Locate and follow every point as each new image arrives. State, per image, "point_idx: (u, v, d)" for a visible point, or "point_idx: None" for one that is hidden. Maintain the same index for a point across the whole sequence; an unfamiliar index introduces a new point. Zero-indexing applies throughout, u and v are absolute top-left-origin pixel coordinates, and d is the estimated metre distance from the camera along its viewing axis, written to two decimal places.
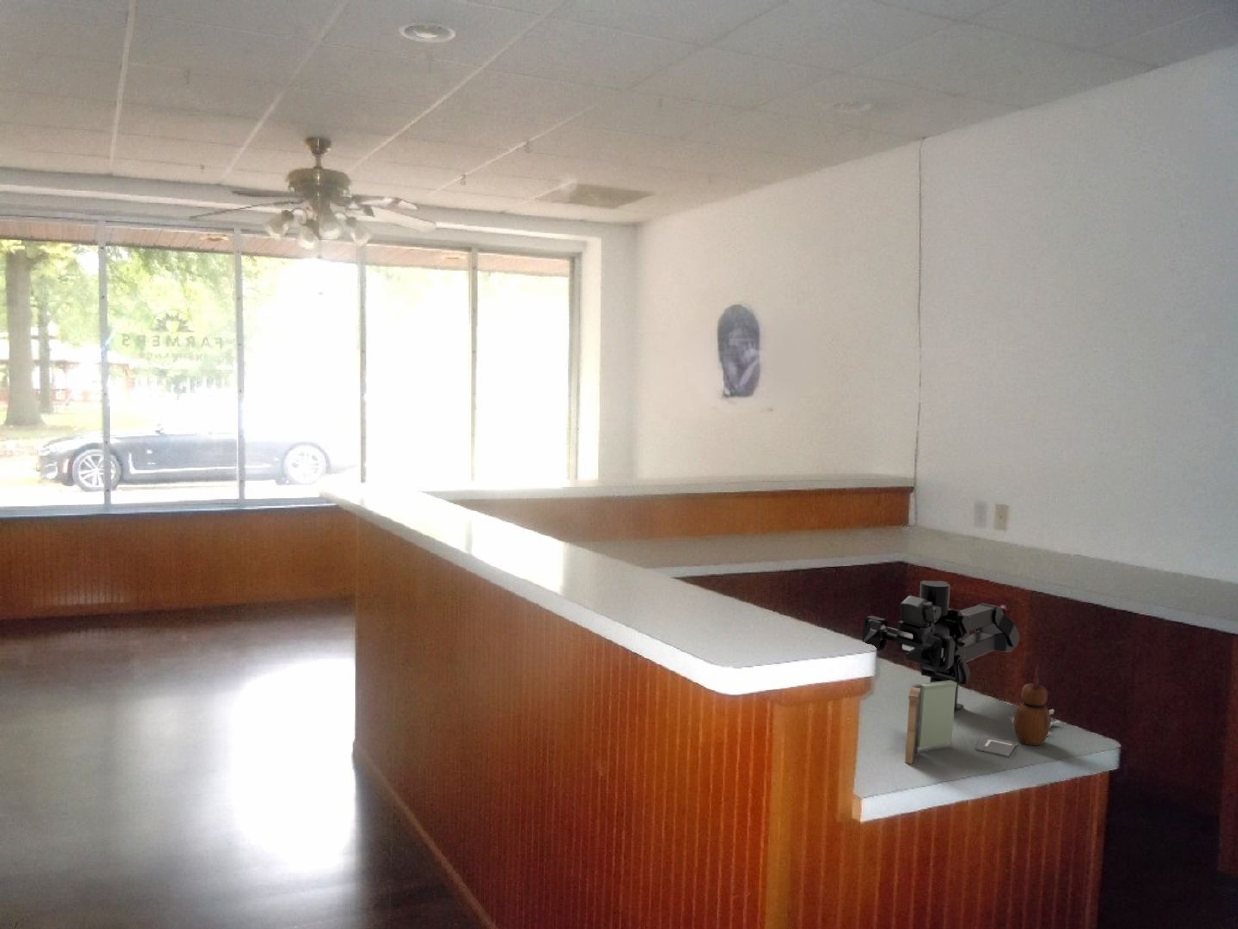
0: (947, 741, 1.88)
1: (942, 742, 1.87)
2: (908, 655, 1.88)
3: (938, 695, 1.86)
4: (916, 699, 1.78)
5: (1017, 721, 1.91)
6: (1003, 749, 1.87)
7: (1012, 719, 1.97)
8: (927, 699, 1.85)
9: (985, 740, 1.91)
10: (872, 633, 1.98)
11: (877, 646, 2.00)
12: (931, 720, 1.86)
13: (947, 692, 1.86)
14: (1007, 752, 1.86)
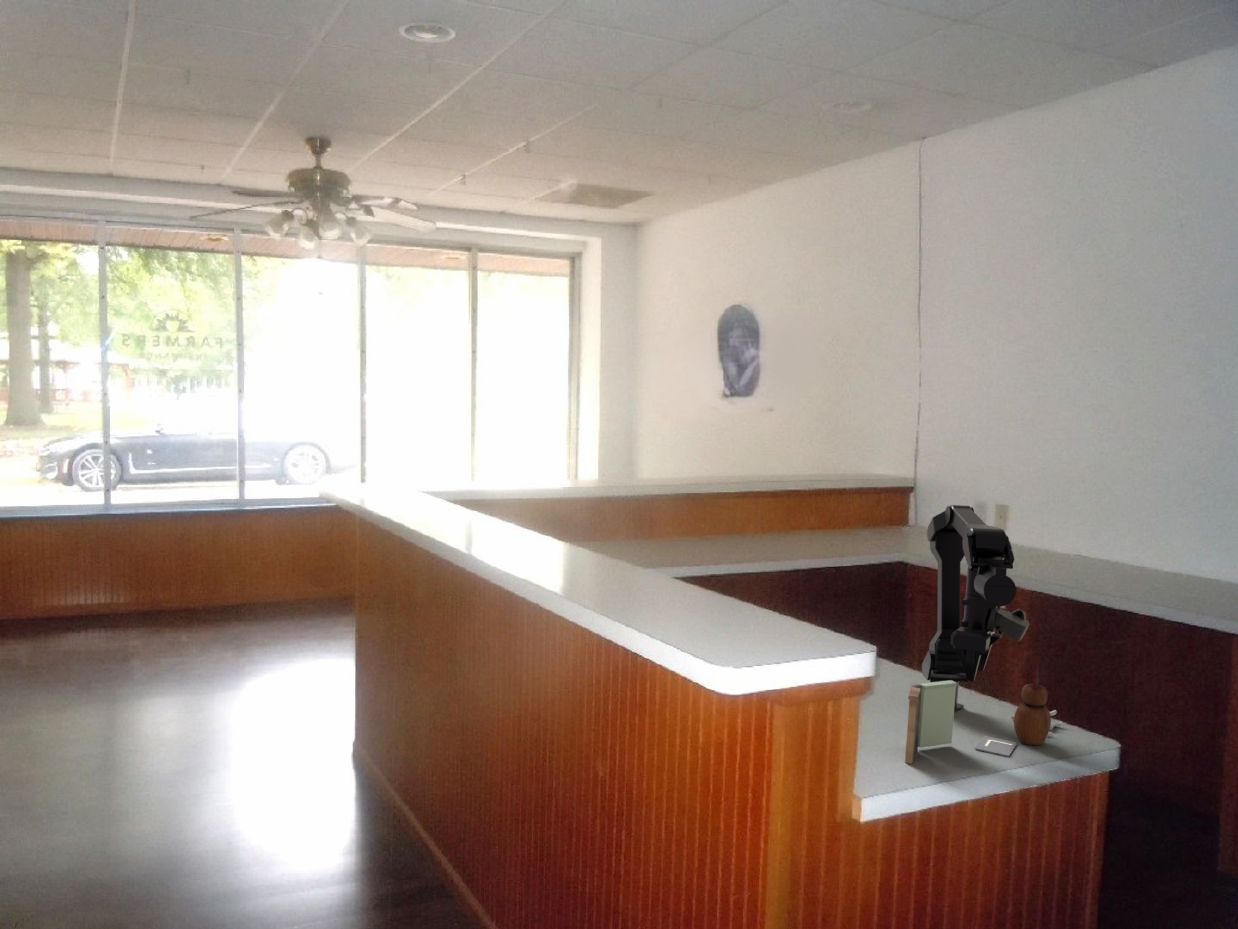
0: (947, 741, 1.88)
1: (942, 742, 1.87)
2: None
3: (938, 695, 1.86)
4: (916, 699, 1.78)
5: (1017, 721, 1.91)
6: (1003, 749, 1.87)
7: None
8: (927, 699, 1.85)
9: (985, 740, 1.91)
10: (978, 662, 1.84)
11: None
12: (931, 720, 1.86)
13: (947, 692, 1.86)
14: (1007, 752, 1.86)
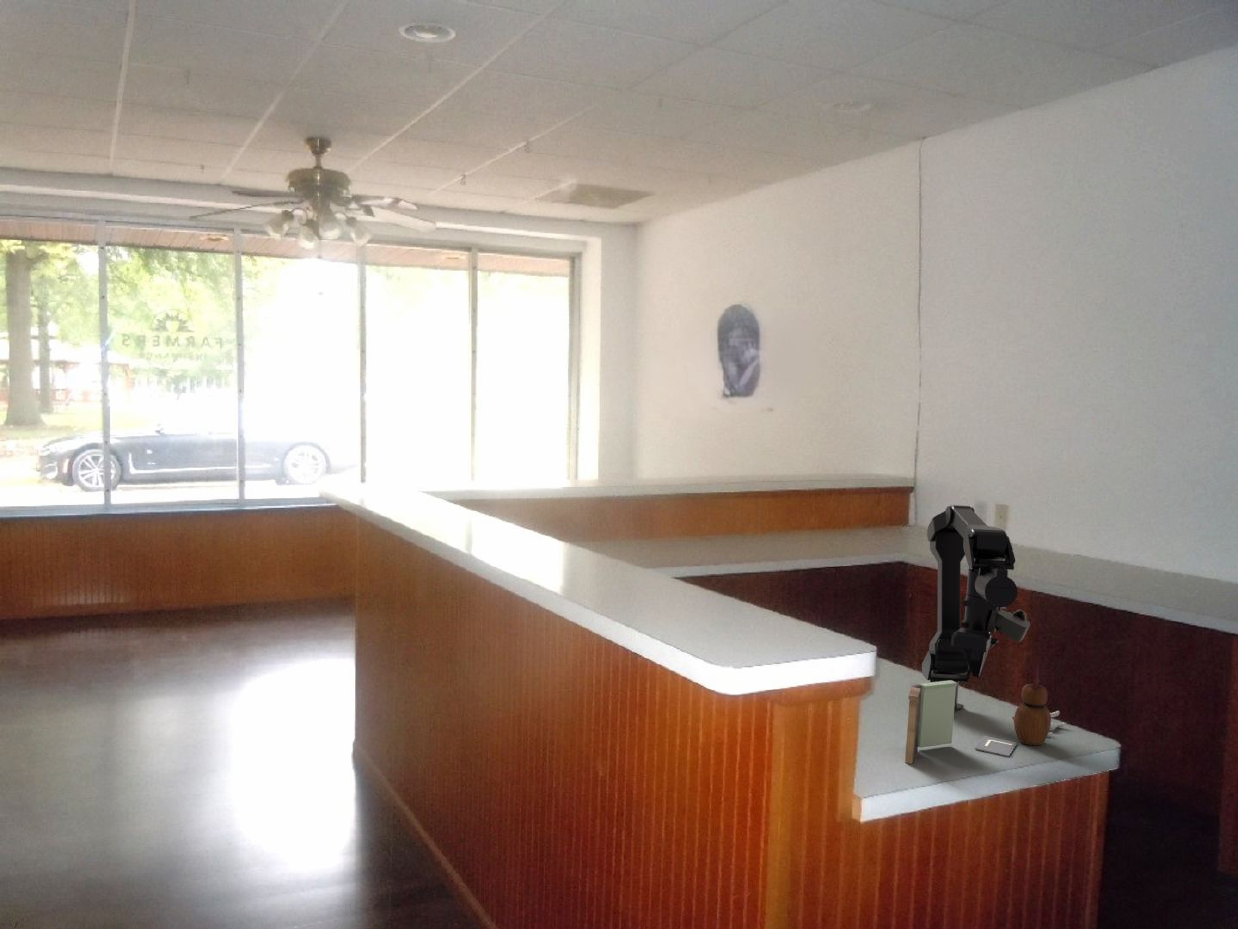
0: (947, 741, 1.88)
1: (942, 742, 1.87)
2: None
3: (938, 695, 1.86)
4: (916, 699, 1.78)
5: (1017, 721, 1.91)
6: (1003, 749, 1.87)
7: None
8: (927, 699, 1.85)
9: (985, 740, 1.91)
10: (983, 658, 1.88)
11: None
12: (931, 720, 1.86)
13: (947, 692, 1.86)
14: (1007, 752, 1.86)
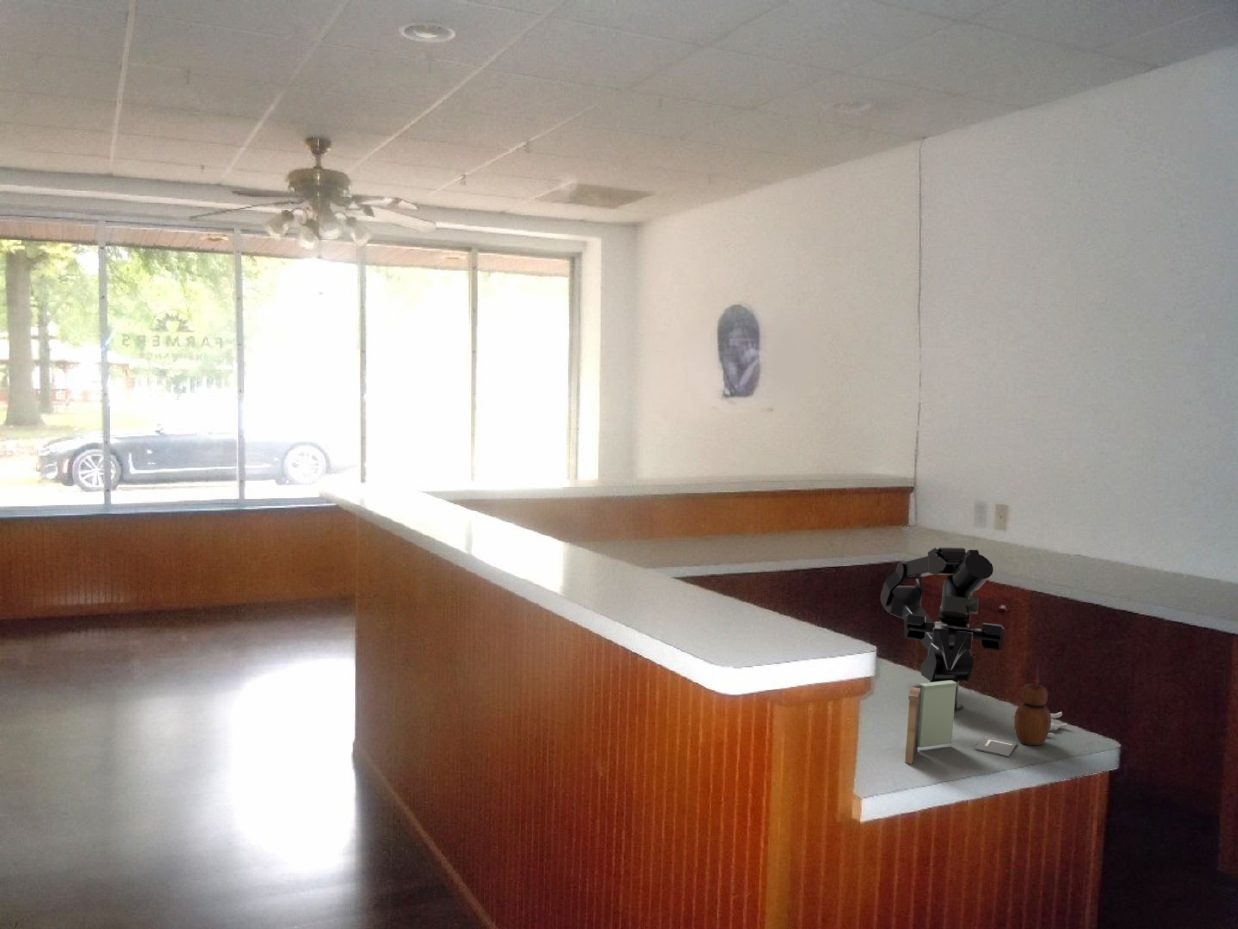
0: (947, 741, 1.88)
1: (942, 742, 1.87)
2: (951, 667, 1.95)
3: (938, 695, 1.86)
4: (916, 699, 1.78)
5: (1017, 721, 1.91)
6: (1003, 749, 1.87)
7: None
8: (927, 699, 1.85)
9: (985, 740, 1.91)
10: (947, 647, 1.97)
11: None
12: (931, 720, 1.86)
13: (947, 692, 1.86)
14: (1007, 752, 1.86)
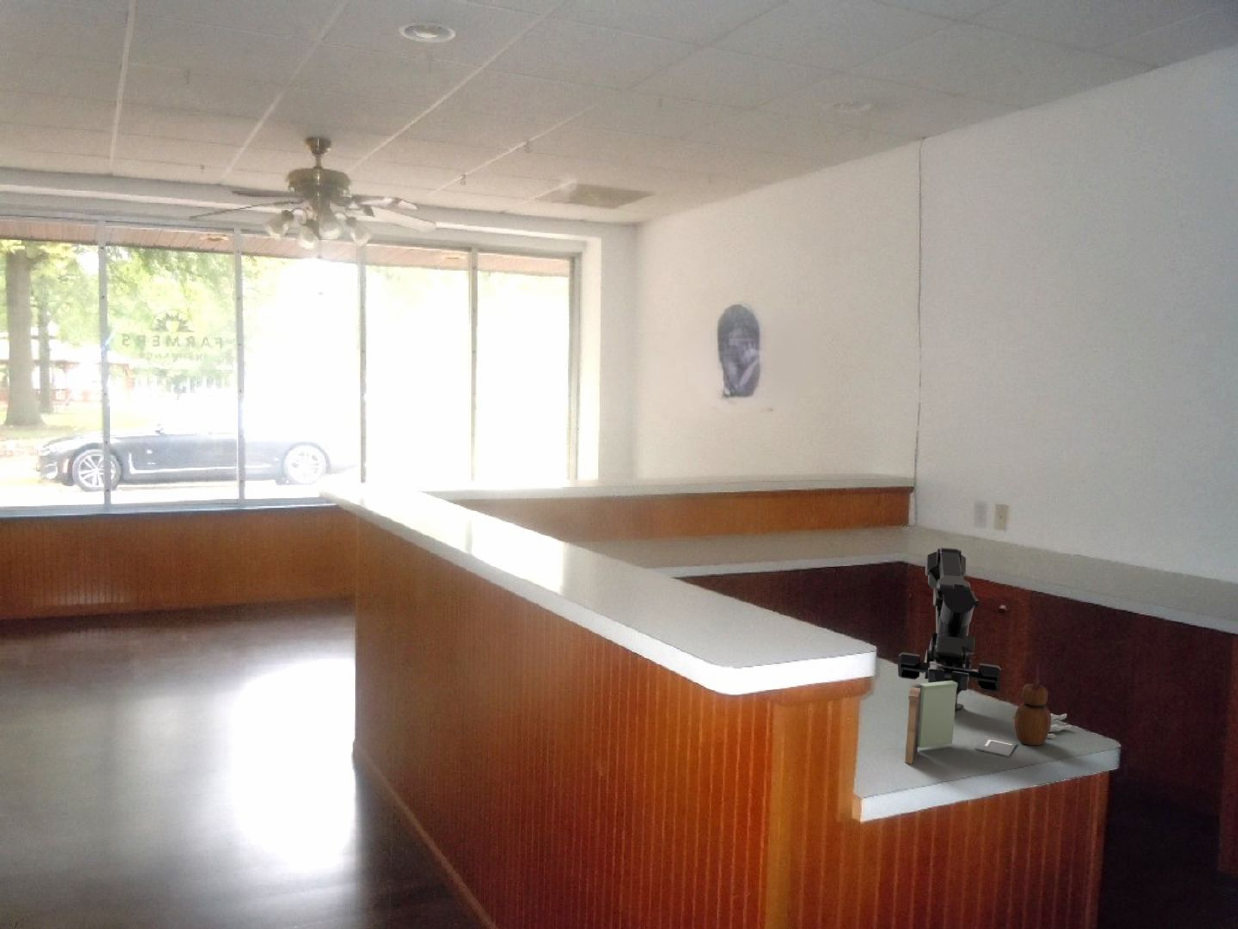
0: (948, 741, 1.88)
1: (943, 742, 1.87)
2: None
3: (938, 695, 1.86)
4: (916, 699, 1.78)
5: (1017, 721, 1.91)
6: (1003, 749, 1.87)
7: None
8: (927, 699, 1.85)
9: (985, 740, 1.91)
10: None
11: None
12: (932, 721, 1.86)
13: (947, 693, 1.86)
14: (1007, 752, 1.86)
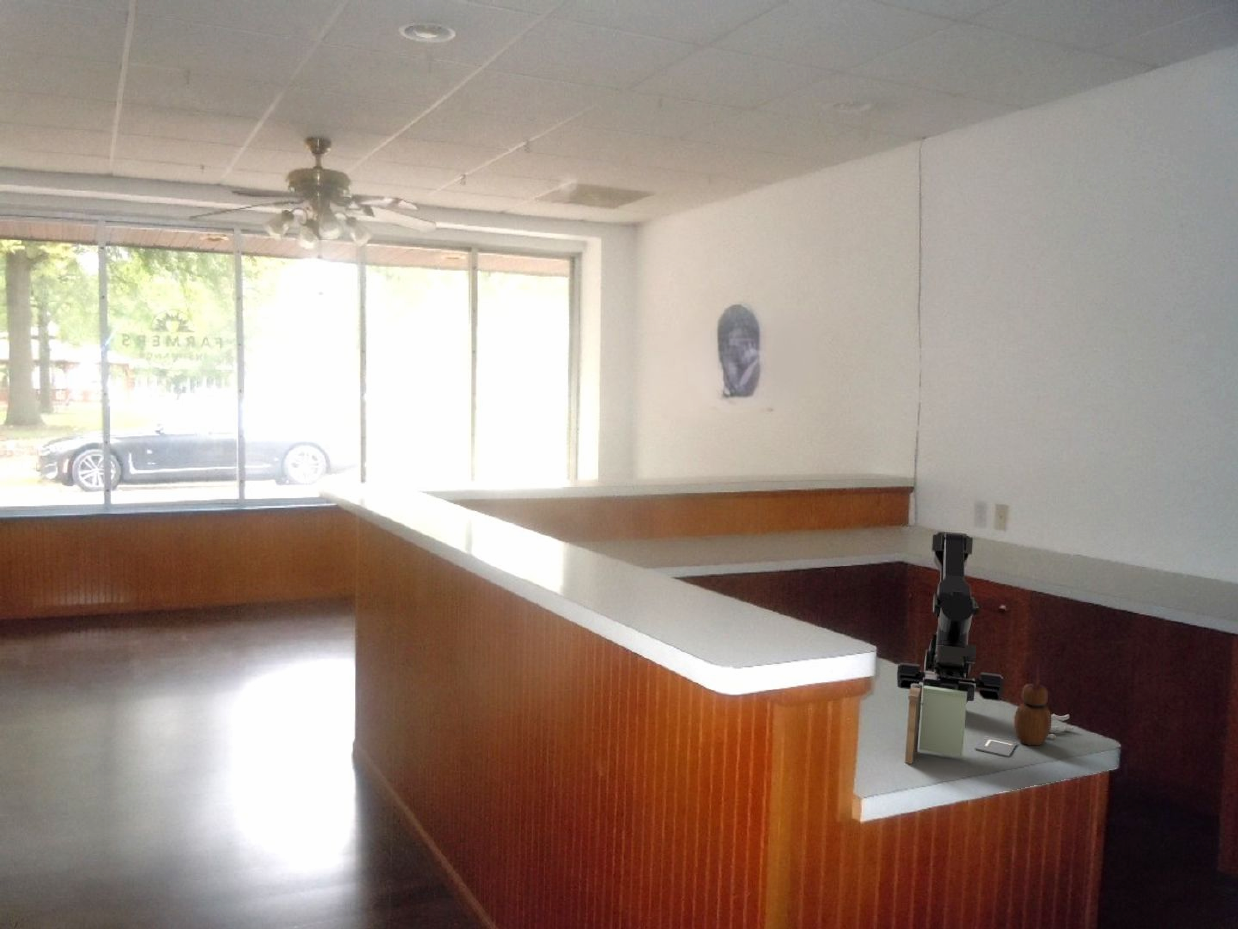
0: (956, 753, 1.82)
1: (949, 752, 1.82)
2: None
3: (942, 702, 1.82)
4: (916, 699, 1.78)
5: (1017, 721, 1.91)
6: (1003, 749, 1.87)
7: None
8: (928, 702, 1.83)
9: (985, 740, 1.91)
10: None
11: None
12: (934, 726, 1.83)
13: (954, 701, 1.81)
14: (1007, 752, 1.86)
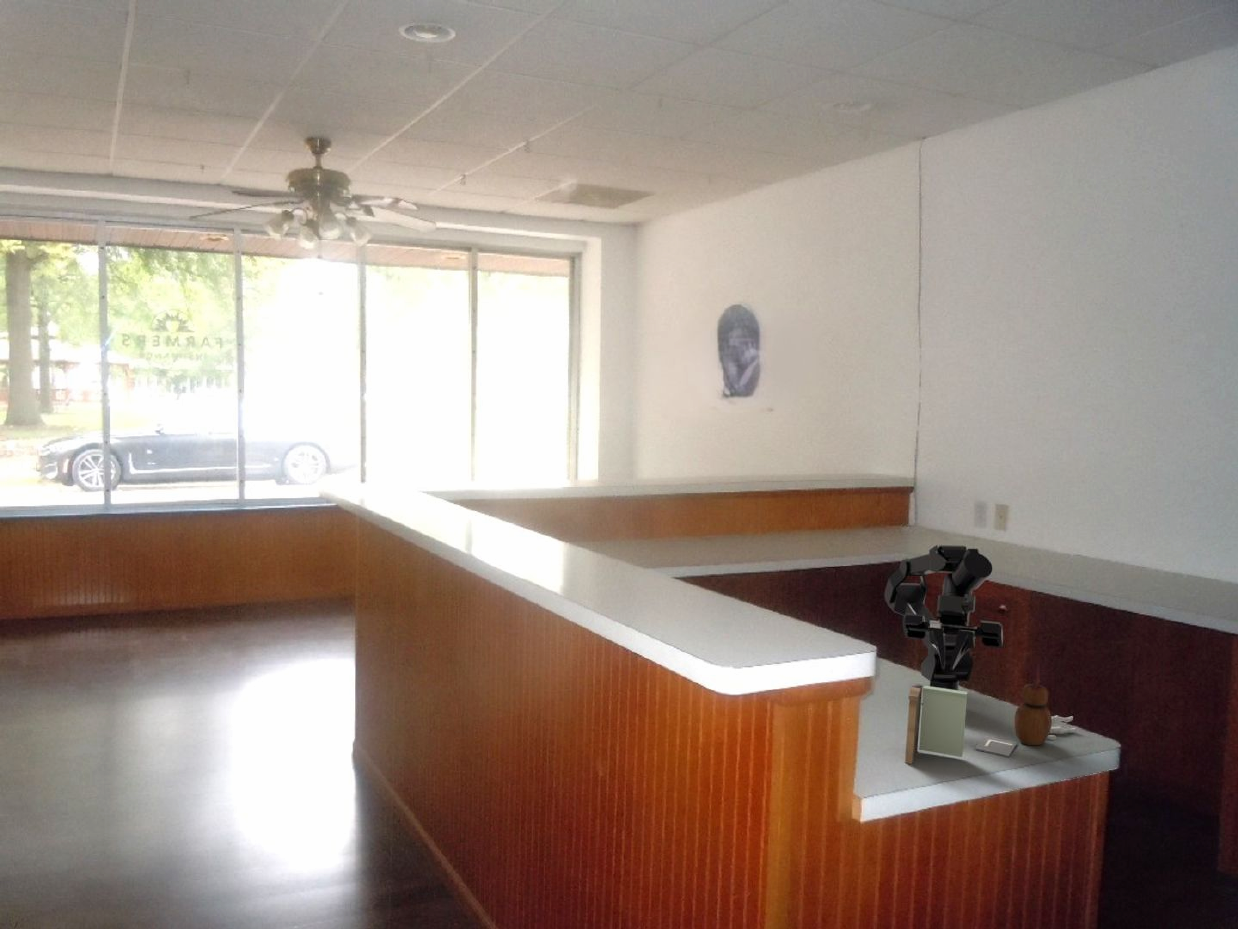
0: (956, 753, 1.82)
1: (949, 752, 1.82)
2: (953, 667, 1.95)
3: (942, 702, 1.82)
4: (916, 699, 1.78)
5: (1017, 721, 1.91)
6: (1003, 749, 1.87)
7: None
8: (928, 702, 1.83)
9: (985, 740, 1.91)
10: (941, 646, 1.97)
11: None
12: (934, 726, 1.83)
13: (954, 702, 1.81)
14: (1007, 752, 1.86)
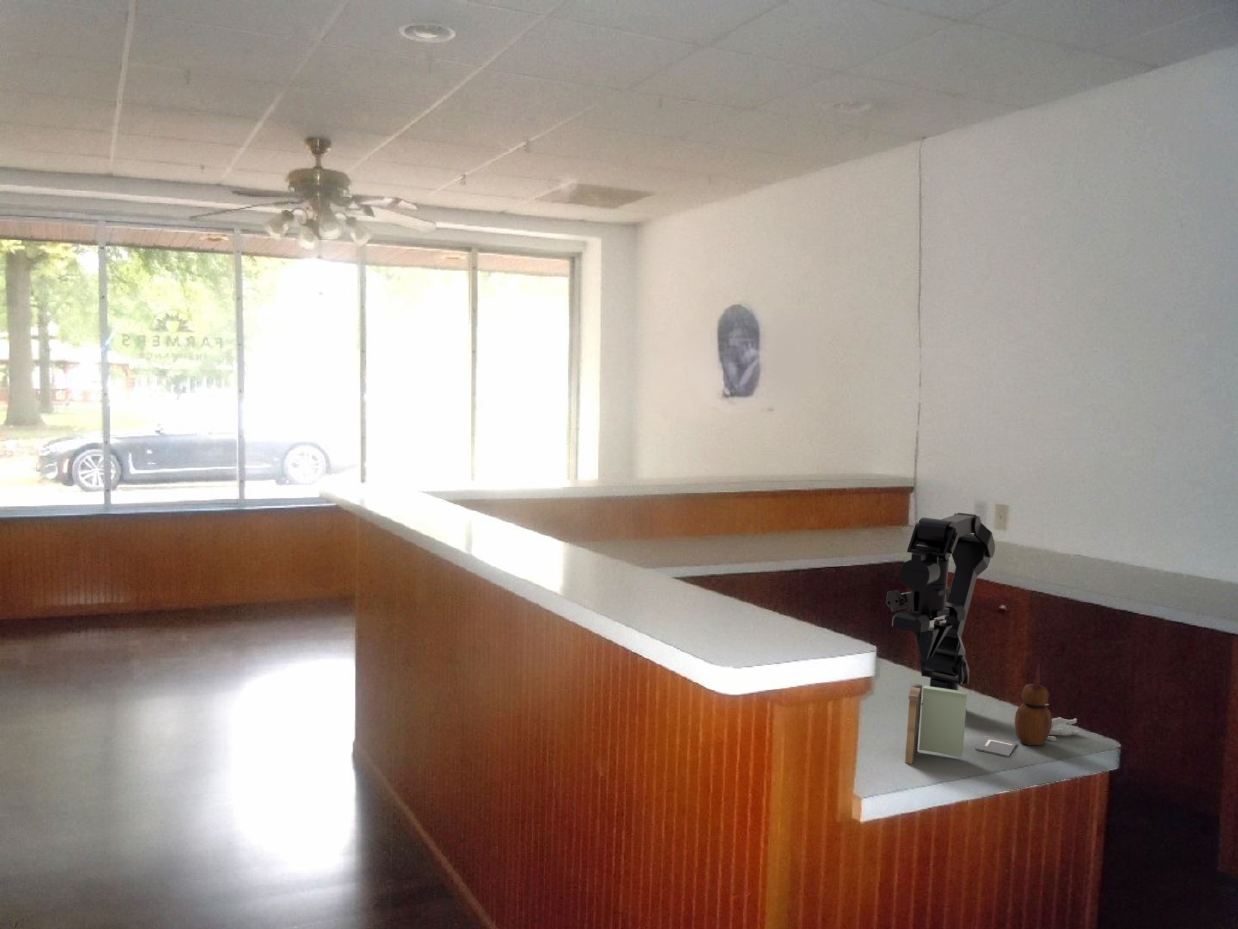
0: (956, 753, 1.82)
1: (949, 752, 1.82)
2: (922, 658, 1.99)
3: (942, 702, 1.82)
4: (916, 699, 1.78)
5: (1017, 721, 1.91)
6: (1003, 749, 1.87)
7: None
8: (928, 702, 1.83)
9: (985, 740, 1.91)
10: None
11: (939, 630, 1.99)
12: (934, 726, 1.83)
13: (954, 702, 1.81)
14: (1007, 752, 1.86)
